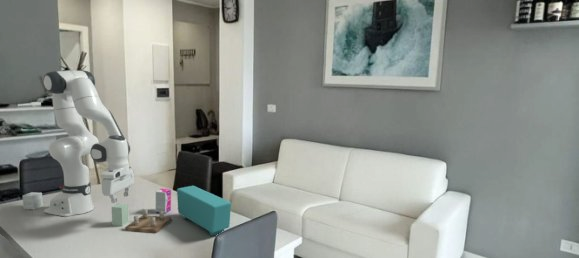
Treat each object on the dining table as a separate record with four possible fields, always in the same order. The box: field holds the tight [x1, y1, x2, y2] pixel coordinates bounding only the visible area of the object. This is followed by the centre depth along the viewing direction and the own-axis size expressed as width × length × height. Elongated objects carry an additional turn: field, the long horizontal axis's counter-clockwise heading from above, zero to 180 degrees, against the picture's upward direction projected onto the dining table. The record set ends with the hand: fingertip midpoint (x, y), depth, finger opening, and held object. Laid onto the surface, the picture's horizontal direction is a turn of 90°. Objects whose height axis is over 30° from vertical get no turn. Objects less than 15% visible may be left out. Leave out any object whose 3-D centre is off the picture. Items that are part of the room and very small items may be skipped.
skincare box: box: [22, 191, 44, 210], centre depth 183 cm, size 6×6×7 cm
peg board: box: [124, 209, 172, 234], centre depth 165 cm, size 15×15×6 cm
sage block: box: [111, 202, 129, 227], centre depth 166 cm, size 5×5×9 cm
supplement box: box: [155, 188, 172, 215], centre depth 183 cm, size 6×6×12 cm
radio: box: [176, 185, 232, 236], centre depth 167 cm, size 34×10×15 cm, turn 44°
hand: (120, 199), depth 165 cm, fingers open, 8 cm apart
